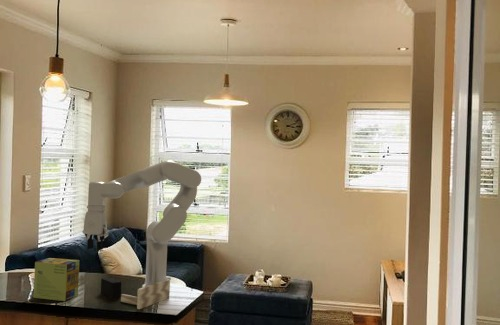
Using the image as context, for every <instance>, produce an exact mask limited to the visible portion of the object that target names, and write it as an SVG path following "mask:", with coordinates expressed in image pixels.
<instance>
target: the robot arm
mask: <svg viewBox="0 0 500 325" xmlns="http://www.w3.org/2000/svg"><path fill="white" fill-rule="evenodd" d="M165 180H169V181H172V182H175V183H177V184H180V186H179V191H178V192H177V194H176V195H175V196H174V198H173V199H172V200H171V201H170V202H169V204H167V205H166V207H165V208H164V209H163V212H162V218H161V219H160V220H154V221H152V222H150V223H149V225H148V226H147V228H146V235H145V236H146V259H145V260H146V261H145V283H144V284H142V286H141V288H143V287H146V286H149V285H152V284H155V283H158V282H161V281H164V280H167V279H169V280H170V281H171V279H172V278H171V276H167V261H168V260H167V259H168V242H170V241H171V240H172V239H173V238H174V237H175V236H176V234H177V233H178V232H179V231H180V229H181V228H182V227H183V225H184V224H185V223H186V220H187V219H188V218H187V217H188V212H187V211H188V210H189V208H190V207H191V206H192V204H193V203H194V202H195V199H196V197H197V193H198V186H200V184H201V183H202V176H201V173H200V172H198V171H197V170H195V169H192V168H190V167H188V166H185V165H182V164H180V163H178V162H176V161H173V160H163V161H161V162H158V163H156V164H153V165H149V166H147V167H145V168H142V169H140V170H137V171H134V172H132V173H129V174H126V175H124V176H120V177H118V178H115V179H113V180H110V181H108V182H103V181H90V182H89V183H88V193H87V194H88V197H87V198H88V199H87V206H86V209H87V211H86V212H85V215H84V221H83V230H82V233H83V235H84V236H85V238H86V240H87V245H86V248H87V250H90V249H94V241H95V240H94V239H93V238H94V236H97V241H96V250H97V251H101V250H103V249H104V241H105V240H106V238H107V237H108V236H109V235H110V234H109V231H108V220H107V212H106V199H108V198H109V199H119V198H121V197H122V196H123V195H124V193H127V192H130V191H133V190H137V189H145V188H148V187H150V186H153V185H156V184H158V183H161V182H164V181H165Z"/></svg>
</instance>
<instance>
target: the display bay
mask: <svg viewBox="0 0 500 325" xmlns="http://www.w3.org/2000/svg"><path fill="white" fill-rule="evenodd" d="M170 289H171V280H169V279H167V280H164V281H161V282H158V283H155V284H152V285H149V286H146V287H143V288H142V287H140V288H137V296H135V295H130V294H125V293H121V297H120V302H121V303H126V304H129V305H136V309H137V310H141V309H144V308H146V307H149V306H152V305H154V304H157V303H159V302H162V301H164V300H167V299H170V292H171V290H170Z"/></svg>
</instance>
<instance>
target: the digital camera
mask: <svg viewBox="0 0 500 325" xmlns="http://www.w3.org/2000/svg"><path fill="white" fill-rule="evenodd" d="M100 279H101V281H100V294H101V295H102V294H103V296H105V297H107V296H108V298H109V297H110V298H109V299H119V298H120V299H121V295H122V281H121V280H118V279H117V278H114V277H113V278H112V277H104V278H102V277H101V278H100Z"/></svg>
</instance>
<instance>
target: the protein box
mask: <svg viewBox="0 0 500 325" xmlns="http://www.w3.org/2000/svg"><path fill="white" fill-rule="evenodd" d="M33 279H34V280H33V281H34V282H33V296H32V297H33V299H42V300H43V299H44V300H51V301H52V300H53V301H60V302H61V301H62V302H66V301H68V300H71V299H72V298H76V297H77V296H79V280H80V260H79V259H67V258H54V257H53V258H52V257H48V258H44V259H40V260H36V261H35V262H34V278H33Z"/></svg>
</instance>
